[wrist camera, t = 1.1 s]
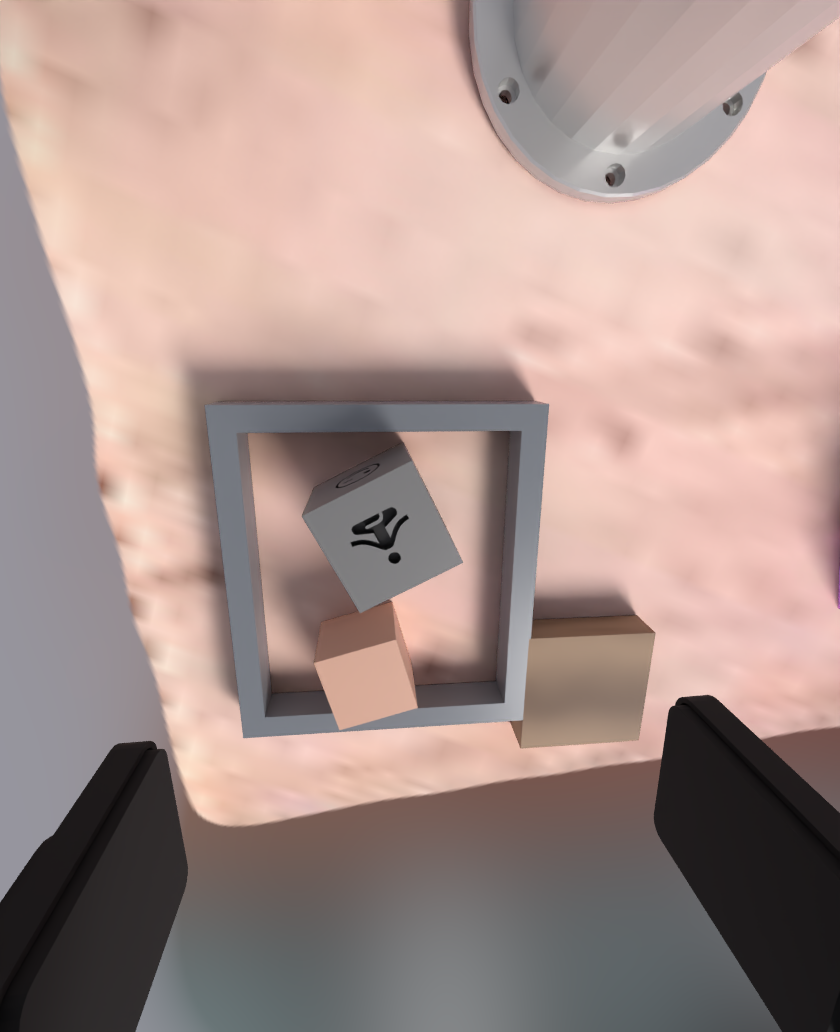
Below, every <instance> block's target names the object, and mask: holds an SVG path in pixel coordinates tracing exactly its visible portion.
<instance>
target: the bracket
mask: <svg viewBox="0 0 840 1032" xmlns="http://www.w3.org/2000/svg"><path fill="white" fill-rule="evenodd" d="M838 608H839V609H840V568H839V594H838Z"/></svg>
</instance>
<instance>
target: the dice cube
mask: <svg viewBox="0 0 840 1032" xmlns="http://www.w3.org/2000/svg"><path fill="white" fill-rule="evenodd" d="M302 518H303V519H304V521H305V523H306V524H307V526H308V528H309V529H310V531H311V533H312V534H313V536H314V538H315V539H316V541H317V543H318V544H319V546H320V548H321V549H322V551H323V553H324V554H325V556H326V558H327V559H328V561H329V563H330V564H331V566H332V568H333V569H334V571H335V572H336V574H337V576H338V577H339V579H340V581H341V582H342V584H343V586H344V587H345V589H346V591H347V592H348V594H349V596H350V597H351V599H352V601H353V602H354V604H355V606H356V607H357V609H358V611H359V612H360V613H362V612H364V611H366V610H368V609H370V608H372V607H374V606H376V605H378V604H380V603H382V602H384V601H386V600H388V599H390V598H392V597H394V596H396V595H398V594H400V593H403V592H405V591H407V590H409V589H411V588H413V587H415V586H417V585H419V584H421V583H423V582H425V581H427V580H429V579H431V578H433V577H435V576H437V575H439V574H441V573H443V572H445V571H447V570H449V569H451V568H453V567H455V566H457V565H459V564H461V563H463V561H462V559H461V557H460V555H459V553H458V551H457V549H456V547H455V545H454V543H453V540H452V538H451V536H450V534H449V532H448V530H447V528H446V526H445V524H444V522H443V520H442V518H441V516H440V514H439V512H438V510H437V508H436V506H435V504H434V502H433V500H432V498H431V496H430V494H429V492H428V490H427V488H426V486H425V484H424V482H423V480H422V478H421V476H420V474H419V472H418V470H417V468H416V466H415V464H414V462H413V460H412V458H411V456H410V454H409V452H408V450H407V448H406V446H405V444H404V442H403V443H401V444H399V445H397V446H395V447H393V448H391V449H389V450H387V451H385V452H383V453H381V454H379V455H377V456H375V457H373V458H371V459H369V460H367V461H365V462H363V463H361V464H359V465H357V466H355V467H353V468H351V469H349V470H347V471H345V472H343V473H342V474H340V475H338V476H336V477H334V478H332V479H330V480H328V481H326V482H324V483H322V484H320V485H318V486H316V487H314V489H313V491H312V493H311V496H310V498H309V500H308V503H307V505H306V507H305V510H304V512H303V514H302Z"/></svg>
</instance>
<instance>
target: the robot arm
mask: <svg viewBox="0 0 840 1032" xmlns="http://www.w3.org/2000/svg"><path fill="white" fill-rule="evenodd" d="M839 17H840V0H470V9H469V41H470V49H471V57H472V65H473V72H474V76H475V79H476V83H477V86H478V89H479V93H480V96H481V100H482V103H483V106H484V108H485V110H486V112H487V114H488V116H489V118H490V121H491V123H492V125H493V127H494V129H495V131H496V133H497V135H498V136H499V138H500V139H501V140H502V142H503V143H504V144H505V146H506V147H507V149H508V150H509V151H510V153H511V154H512V156H513V157H514V158H515V159H516V160H517V161H518V162H519V163H520V164H521V165H522V166H523V167H524V168H525V169H526V170H527V171H528V172H529V173H531V174H532V175H533V176H534V177H535V178H536V179H537V180H539V181H541V182H542V183H544V184H546V185H547V186H549V187H551V188H552V189H554V190H556V191H557V192H559V193H562V194H565V195H568V196H571V197H574V198H577V199H580V200H583V201H590V202H600V203H617V202H625V201H633V200H638V199H640V198H643V197H646V196H649V195H652V194H654V193H657V192H660V191H662V190H664V189H666V188H667V187H669V186H671V185H673V184H674V183H676V182H678V181H680V180H682V179H684V178H685V177H686V176H688V175H689V174H691V173H692V172H693V171H695V170H696V169H697V168H699V167H700V166H701V165H703V164H704V163H705V162H707V161H708V160H709V159H710V158H711V157H712V156H713V155H714V154H715V153H716V152H717V151H718V150H719V149H720V148H721V147H722V146H723V145H724V143H725V142H726V141H727V140H728V139H729V138H730V137H731V136H732V134H733V133H734V132H735V130H736V129H737V127H738V126H739V125H740V123H741V122H742V120H743V119H744V118H745V116H746V114H747V113H748V111H749V109H750V107H751V105H752V103H753V101H754V99H755V97H756V95H757V93H758V91H759V89H760V87H761V85H762V82H763V80H764V78H765V75H766V72H767V70H769V69H770V68H771V67H773V66H774V65H776V64H777V63H778V62H780V61H781V60H782V59H784V58H785V57H786V56H788V55H789V54H790V53H792V52H793V51H795V50H796V49H797V48H799V47H800V46H801V45H803V44H804V43H805V42H807V41H808V40H809V39H811V38H812V37H814V36H815V35H816V34H818V33H819V32H820V31H822V30H823V29H824V28H826V27H827V26H828V25H830V24H831V23H833V22H834V21H835V20H837V19H838V18H839ZM502 95H503V96H506V97H507V99H508V102H509V104H506V103H504V102H502V101H501V99H500V98H499V96H502ZM605 176H606V177H608V178H609V179H610V182H611V184H610V186H609V185H608V183H607V182H606V178H605ZM654 823H655V827H656V830H657V833H658V835H659V837H660V839H661V841H662V842H663V844H664V845H665V847H666V848H667V850H668V852H669V853H670V855H671V856H672V858H673V860H674V861H675V863H676V864H677V865H678V868H679V869H680V871H681V872H682V874H683V875H684V877H685V879H686V880H687V882H688V883H689V885H690V886H691V888H692V890H693V891H694V893H695V894H696V896H697V898H698V899H699V901H700V902H701V904H702V905H703V907H704V908H705V910H706V911H707V913H708V915H709V917H710V918H711V920H712V921H713V923H714V924H715V926H716V927H717V929H718V931H719V932H720V934H721V935H722V937H723V939H724V940H725V942H726V943H727V945H728V947H729V948H730V950H731V951H732V953H733V954H734V956H735V958H736V959H737V961H738V962H739V964H740V966H741V967H742V969H743V970H744V972H745V973H746V975H747V977H748V978H749V980H750V981H751V983H752V984H753V986H754V988H755V989H756V991H757V992H758V994H759V996H760V997H761V999H762V1000H763V1002H764V1003H765V1005H766V1006H767V1008H768V1010H769V1011H770V1013H771V1015H772V1016H773V1018H774V1019H775V1021H776V1022H777V1024H778V1026H779V1027H780V1029H781V1030H782V1032H840V813H839V812H838V811H837V810H836V809H835V808H834V807H833V806H832V805H830V804H829V803H828V802H827V801H826V800H825V799H824V798H823V797H822V796H821V795H820V794H819V793H817V792H816V791H815V790H814V789H813V788H812V787H811V786H810V785H809V784H808V783H807V782H806V781H804V779H802V778H801V777H800V776H799V775H798V774H797V773H796V772H795V771H794V770H793V769H792V768H791V767H790V766H788V765H787V764H786V763H785V762H784V761H783V760H782V759H781V758H780V757H779V756H778V755H777V754H775V753H774V752H773V751H772V750H771V749H770V748H769V747H768V746H767V745H766V744H765V743H764V742H762V740H760V739H759V738H758V737H757V736H756V735H755V734H754V733H753V732H752V731H751V730H750V729H749V728H748V727H746V726H745V725H744V724H743V723H742V722H741V721H740V720H739V719H738V718H737V717H736V716H735V715H734V714H732V713H731V712H730V711H729V710H728V709H727V708H726V707H725V706H724V705H723V704H722V703H721V702H720V701H718V700H717V699H716V698H715V697H713V696H710V695H703V696H690V697H681V698H679V699H678V700H677V701H676V704H675V706H672V707H671V708H670V709H669V713H668V720H667V727H666V734H665V741H664V748H663V755H662V762H661V769H660V776H659V783H658V790H657V797H656V803H655V811H654ZM187 875H188V866H187V860H186V854H185V848H184V843H183V839H182V832H181V827H180V822H179V816H178V811H177V805H176V800H175V795H174V790H173V784H172V779H171V773H170V768H169V763H168V757H167V753H166V751H165V750H164V749H157V747H156V744H155V743H154V742H152V741H146V742H145V741H144V742H132V743H120V744H117V745H115V746H114V747H113V748H112V749H111V750H110V752H109V753H108V755H107V756H106V758H105V759H104V761H103V762H102V764H101V765H100V767H99V768H98V770H97V771H96V773H95V774H94V776H93V777H92V779H91V780H90V782H89V783H88V785H87V786H86V787H85V789H84V790H83V792H82V793H81V795H80V796H79V798H78V799H77V801H76V802H75V804H74V805H73V807H72V808H71V810H70V811H69V813H68V814H67V816H66V817H65V819H64V820H63V822H62V823H61V825H60V826H59V828H58V829H57V831H56V832H55V833H54V835H53V836H51V837H49V838H48V839H46V840H45V841H44V842H43V843H42V844H41V845H40V847H39V848H38V849H37V850H36V852H35V853H34V854H33V856H32V857H31V859H30V860H29V862H28V863H27V865H26V866H25V867H24V869H23V870H22V872H21V873H20V875H19V876H18V877H17V879H16V880H15V882H14V883H13V885H12V886H11V888H10V889H9V891H8V892H7V894H6V895H5V897H4V898H3V899H2V901H1V902H0V1032H135V1031H136V1028H137V1025H138V1022H139V1019H140V1016H141V1014H142V1011H143V1008H144V1005H145V1002H146V1000H147V997H148V994H149V991H150V988H151V985H152V982H153V980H154V977H155V973H156V971H157V968H158V965H159V962H160V959H161V957H162V953H163V951H164V948H165V945H166V942H167V939H168V937H169V934H170V931H171V928H172V925H173V922H174V919H175V916H176V914H177V910H178V908H179V905H180V902H181V899H182V896H183V894H184V890H185V887H186V882H187Z"/></svg>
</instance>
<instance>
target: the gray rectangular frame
mask: <svg viewBox="0 0 840 1032" xmlns="http://www.w3.org/2000/svg"><path fill="white" fill-rule="evenodd" d="M205 412H206V421H207V430H208V438H209V447H210V455H211V464H212V472H213V481H214V490H215V498H216V507H217V515H218V524H219V532H220V541H221V550H222V558H223V567H224V575H225V584H226V593H227V601H228V610H229V618H230V627H231V635H232V644H233V653H234V661H235V670H236V678H237V687H238V695H239V704H240V713H241V721H242V730H243V738H252V737H268V736H284V735H300V734H315V733H331V732H347V731H362V730H378V729H394V728H410V727H425V726H441V725H457V724H473V723H488V722H504V721H520V720H523V712H524V699H525V686H526V673H527V660H528V647H529V639H531V631H532V619H533V606H534V593H535V580H536V567H537V554H538V541H539V528H540V515H541V502H542V489H543V476H544V463H545V451H546V438H547V425H548V412H549V404H546V403H542V402H537V401H303V402H215V403H211V404H206V405H205ZM419 431H510V438H509V455H508V473H507V491H506V509H505V527H504V544H503V562H502V580H501V598H500V616H499V634H498V651H497V669H496V681H489V682H471V683H453V684H435V685H417V686H415V692H416V699H417V706H418V708H416V709H412V710H409V711H405V712H402V713H398V714H395V715H391V716H388V717H384V718H381V719H378V720H374V721H371V722H367V723H364V724H360V725H357V726H353V727H350V728H346V729H343V730H339V728H338V725H337V722H336V720H335V717H334V715H333V712H332V709H331V707H330V704H329V702H328V699H327V696H326V694H325V691H310V692H292V693H274V694H272V689H271V679H270V668H269V658H268V647H267V636H266V626H265V615H264V604H263V594H262V583H261V572H260V562H259V551H258V540H257V530H256V519H255V509H254V498H253V487H252V477H251V466H250V455H249V445H248V434H247V433H287V432H419Z"/></svg>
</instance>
